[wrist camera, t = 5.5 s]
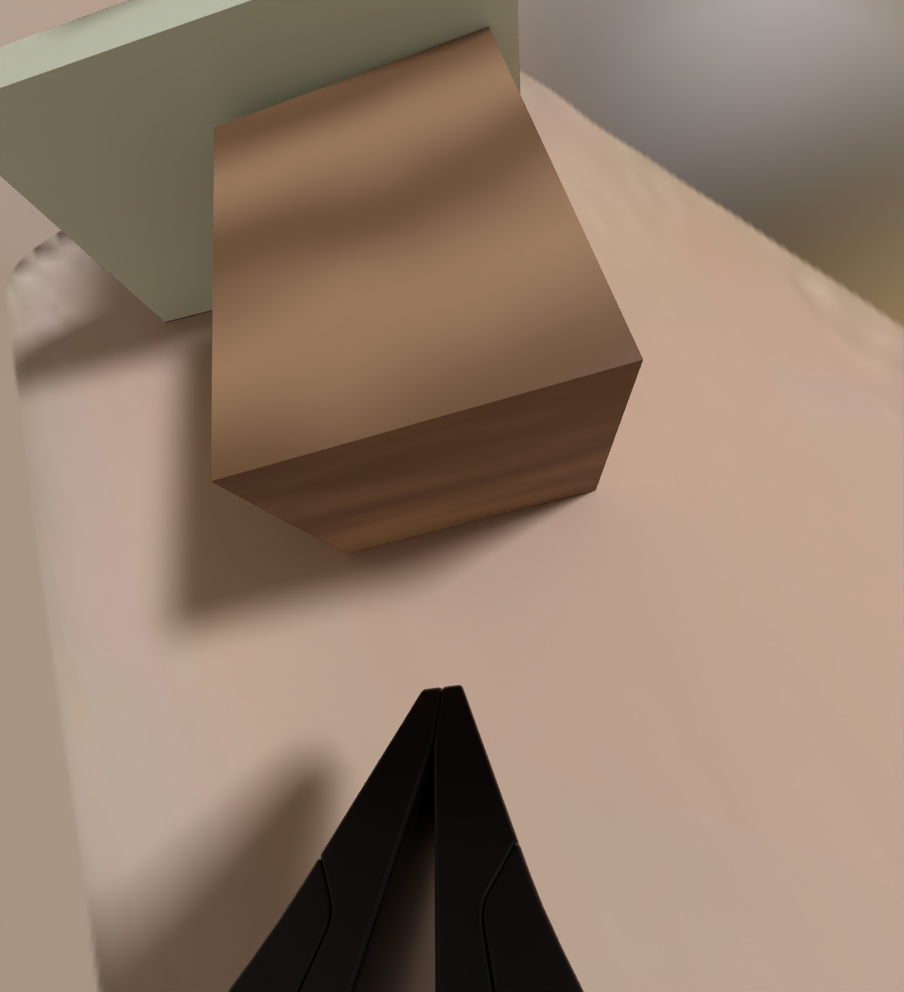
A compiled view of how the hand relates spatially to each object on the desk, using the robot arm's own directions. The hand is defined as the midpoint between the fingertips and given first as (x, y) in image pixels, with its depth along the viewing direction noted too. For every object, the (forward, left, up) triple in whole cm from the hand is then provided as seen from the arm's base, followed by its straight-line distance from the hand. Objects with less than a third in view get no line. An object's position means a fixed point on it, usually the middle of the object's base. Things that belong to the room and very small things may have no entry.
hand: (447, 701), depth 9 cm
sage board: (+22, 0, -6) cm, 23 cm away
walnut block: (+12, -2, -6) cm, 14 cm away
